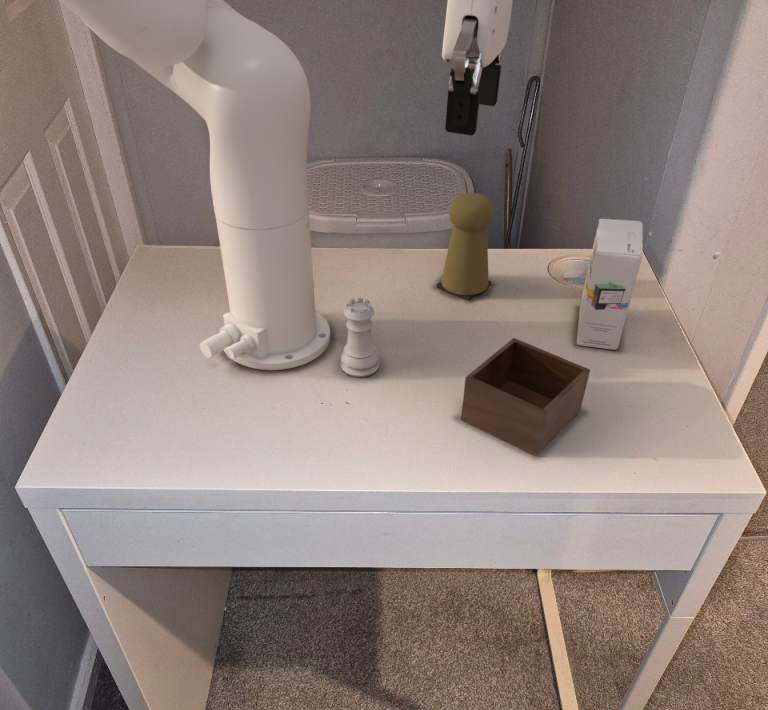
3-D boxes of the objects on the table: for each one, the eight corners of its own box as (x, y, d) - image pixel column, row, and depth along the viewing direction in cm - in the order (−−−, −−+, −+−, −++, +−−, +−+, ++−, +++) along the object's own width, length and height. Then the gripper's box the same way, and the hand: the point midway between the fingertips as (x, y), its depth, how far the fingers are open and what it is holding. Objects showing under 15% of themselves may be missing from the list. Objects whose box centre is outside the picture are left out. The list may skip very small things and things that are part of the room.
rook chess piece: (385, 360, 86) (385, 296, 80) (372, 382, 83) (372, 318, 77) (347, 352, 87) (345, 289, 81) (334, 374, 84) (331, 311, 78)
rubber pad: (468, 300, 95) (469, 297, 95) (436, 287, 97) (436, 284, 97) (490, 284, 98) (491, 281, 97) (458, 272, 100) (459, 269, 99)
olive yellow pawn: (490, 295, 95) (500, 209, 87) (441, 294, 95) (448, 208, 87) (486, 271, 99) (496, 186, 91) (440, 270, 99) (446, 185, 91)
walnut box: (536, 456, 75) (544, 413, 71) (460, 419, 79) (465, 377, 75) (580, 412, 80) (590, 369, 76) (507, 379, 84) (513, 337, 80)
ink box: (578, 307, 94) (598, 214, 86) (619, 312, 93) (643, 219, 85) (574, 345, 88) (596, 250, 80) (618, 351, 88) (644, 255, 79)
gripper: (474, -96, 77) (458, 89, 89) (426, -69, 65) (415, 140, 78) (548, -90, 75) (521, 98, 88) (512, -61, 64) (487, 151, 76)
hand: (471, 117), depth 83 cm, fingers open, 9 cm apart
